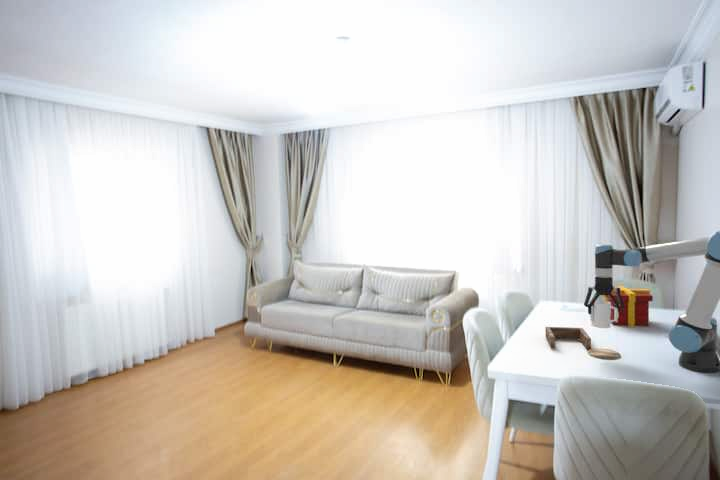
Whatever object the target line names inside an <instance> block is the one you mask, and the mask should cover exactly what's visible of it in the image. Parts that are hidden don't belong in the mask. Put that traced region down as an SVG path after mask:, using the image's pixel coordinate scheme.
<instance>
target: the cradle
mask: <svg viewBox="0 0 720 480" xmlns="http://www.w3.org/2000/svg"><path fill="white" fill-rule="evenodd" d="M546 338H547V339H546ZM555 338H562V339H561V340H579V341H580V342H581V344H582V345H583V347H584V348H585V350H586V351H588V350H590V349H592V338H591V337H590V336H589V334H588V333H587V332H586V330H585V329H584V328H583V327H564V326H545V339H546V341H547V340H548V341H547V343H548V346H549V347H551V348H550V349H552V348H555V349H556V339H555Z"/></svg>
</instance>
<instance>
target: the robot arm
mask: <svg viewBox="0 0 720 480" xmlns="http://www.w3.org/2000/svg"><path fill="white" fill-rule="evenodd" d="M698 256H699V257H700V256H704V257H703V258H704V259H705V260H706V264H705V266H704V268H703V271H702V273H701V276H700V279H699V281H698V283H697V285H696V288H694V289H695V290H694V292H693V295H692V296H691V300H690V301H689V303H688V306H687V309H686V310H685V313H683V314H680V315H679V316H678V319H677V321H676V323H675V325H674V326H673V327H672V328H671V329H670V330H669V332H668V341H669V342H670V345H672V346H673V348H675V349H676V350H678V351H679V352H681V353H680V355H679V358H678V365H679V366H681V367H682V368H685V369H687V370H691V371H694V372H695V371H696V372H702V373H719V372H720V358H719V356H718V353H717V345H718V344H717V343H718V342H717V338H718V334H717V332H718V331H717V330H718V322H717V319H716V318H715V317H713V315H714V313H715V310H716V309H717V306H718V304H719V301H720V230H717V231H716V232H714V233H712V234H711V235H710V236H706V237H698V238H692V239H686V240H679V241H672V242H665V243H659V244H652V245H647V246H638V247H633V248H629V249H616V248H613V245H612V244H597V245H595V248H594V268H595V269H594V275H595V277H594V281H595V282H594V286H588V287H587V293H586V296H585V300H584V302H583V306H584V307H586V308H587V313H588V315H589V320H590V322H592V321H593V308H592V306H593V304H594V303H595V301H596V300H598V299H599V297H600V296H603V295H607V296H608V295H609V297H610V298H611V300H612V301H613V303H614V304H615V306H616V309H617V311H618V314H619V315H620V309H621V308H622V307H624V303H623V300H622V297H621V294H620V288H619V287H617V286H614V285H613V279H614V278H613V268H614V267H613V266H622V267H630V268H631V267H639V266H640V265H641V263H642V264H643V263H651V262H657V261H658V262H659V261H665V260H666V261H667V260H673V259H675V260H676V259H683V258H691V257H698ZM613 289H614V291H615V292H616V294H617V297H618V300H619V303H620V305H618V303H617V301H616V300H615V298H614V297H613V295H612V294H611V292H612V291H613ZM593 291H595V293H594V295H593V294H592V293H593ZM592 295H593V297H592ZM591 297H592V298H591ZM590 298H591V300H590ZM616 318H617V312H616V310H615V309H614V319H616ZM615 322H618V319H617V320H616V321H615Z"/></svg>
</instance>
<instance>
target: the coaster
mask: <svg viewBox="0 0 720 480" xmlns="http://www.w3.org/2000/svg"><path fill="white" fill-rule="evenodd" d="M587 354H588V356H590V357H593V358H595V359H600V360H617V359H620V358H621V353H619V352H618V351H616V350H613V349H609V348H601V347H600V348H591V349H590V350H587Z"/></svg>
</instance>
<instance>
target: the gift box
mask: <svg viewBox="0 0 720 480" xmlns="http://www.w3.org/2000/svg"><path fill="white" fill-rule="evenodd" d="M616 287H619V288H620V294H621V297H622V300H623V303H624V307H622V308H621V309H620V315H619V316H618V322H615V321H614V322H610V325H613V326H620V327H621V326H624V327H632V328H634V327H649V326H650V325H649V324H650V323H649V317H650V316H649V315H650V314H649V313H650V312H649V311H650V306H649V302H653V299H654V296H653V295H651V290H650V289H644V288H643V289H641V288H640V289H639V288H626V287H625V286H623V285H617V286H616ZM611 294H612V295H613V297H614V298H615V300H616V301H617V303H618V305H620V303H619V300H618V297H617V294H616V292H615V291H614V289H613V291H612V292H611ZM602 297H603V298H605V299H604V301H608V302H610V303H611V306H613V307H615V308H616V306H615V304H614V303H613V301H612V300H611V298H610V297H609V295H608V296H607V295H602ZM610 320H614V309H613V308H611V315H610Z"/></svg>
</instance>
